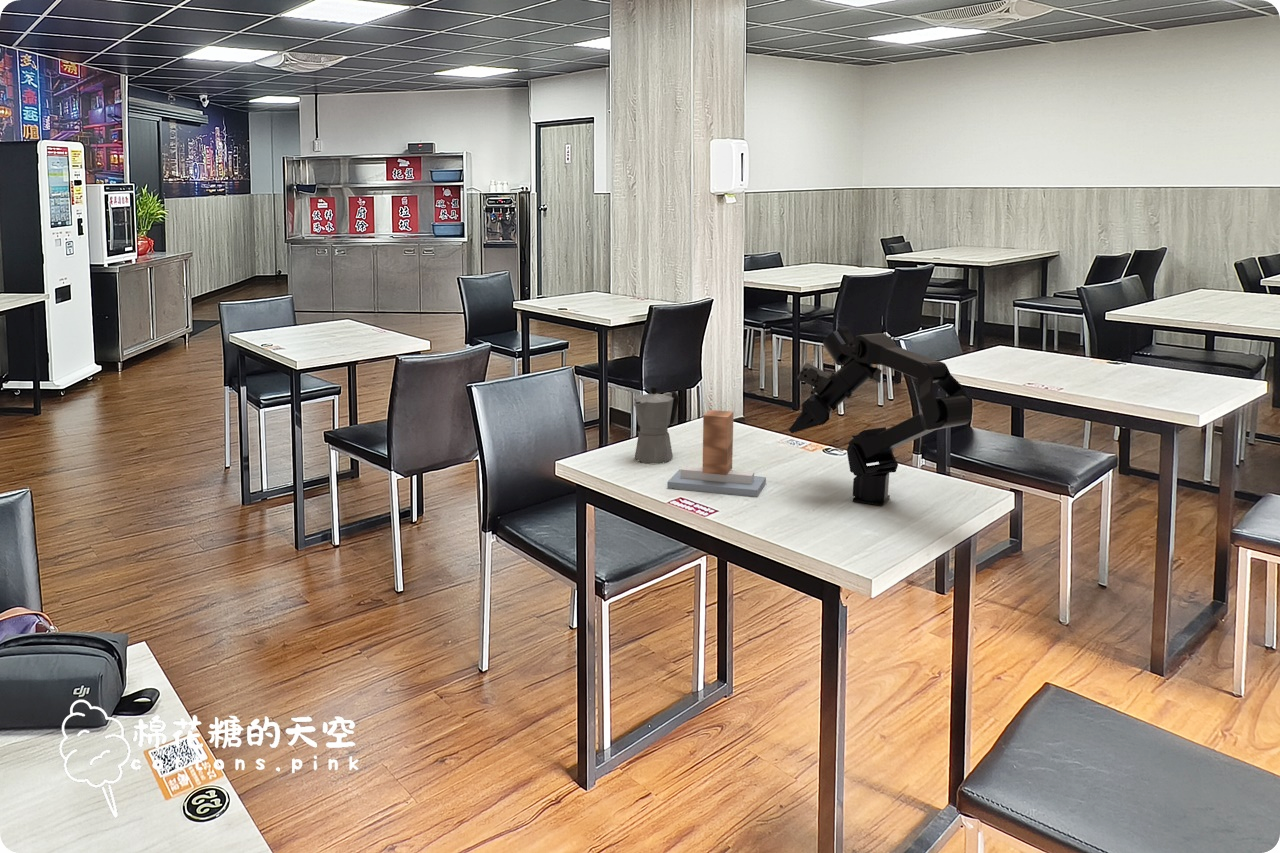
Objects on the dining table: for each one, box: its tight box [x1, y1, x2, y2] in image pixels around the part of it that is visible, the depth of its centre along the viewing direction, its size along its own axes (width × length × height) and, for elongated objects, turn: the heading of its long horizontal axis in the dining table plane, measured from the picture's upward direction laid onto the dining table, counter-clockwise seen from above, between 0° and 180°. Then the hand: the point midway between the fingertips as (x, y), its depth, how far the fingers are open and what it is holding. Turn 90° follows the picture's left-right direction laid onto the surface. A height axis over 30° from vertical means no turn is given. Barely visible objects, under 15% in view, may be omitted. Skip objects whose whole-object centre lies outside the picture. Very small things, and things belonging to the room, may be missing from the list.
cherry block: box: [702, 409, 735, 475], centre depth 221 cm, size 5×5×13 cm
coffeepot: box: [633, 385, 680, 464], centre depth 243 cm, size 15×9×18 cm, turn 137°
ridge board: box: [666, 465, 767, 498], centre depth 223 cm, size 20×10×4 cm, turn 72°
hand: (793, 426), depth 220 cm, fingers open, 9 cm apart
